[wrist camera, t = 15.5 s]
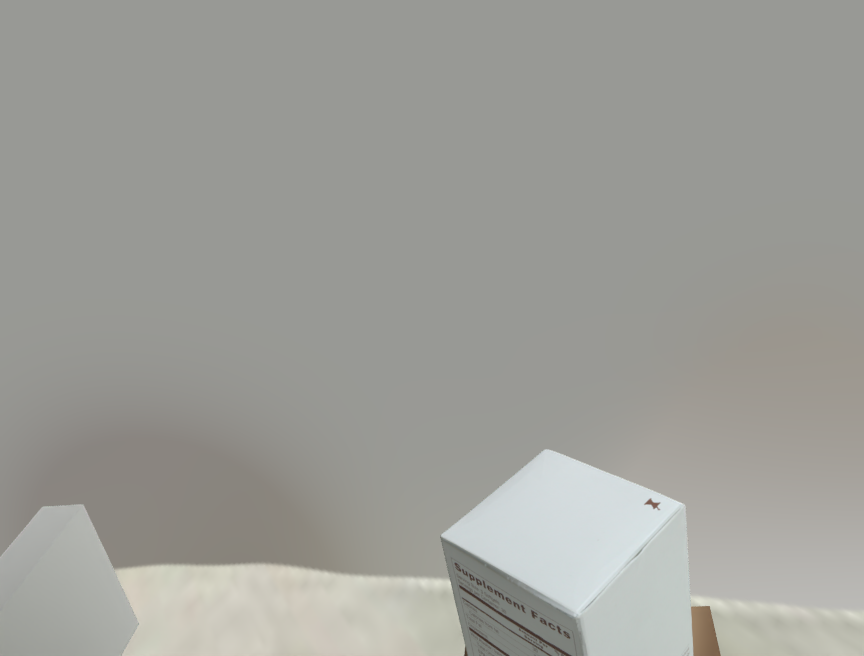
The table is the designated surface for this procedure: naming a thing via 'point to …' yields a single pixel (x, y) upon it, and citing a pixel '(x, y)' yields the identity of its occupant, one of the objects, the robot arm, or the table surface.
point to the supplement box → (571, 566)
